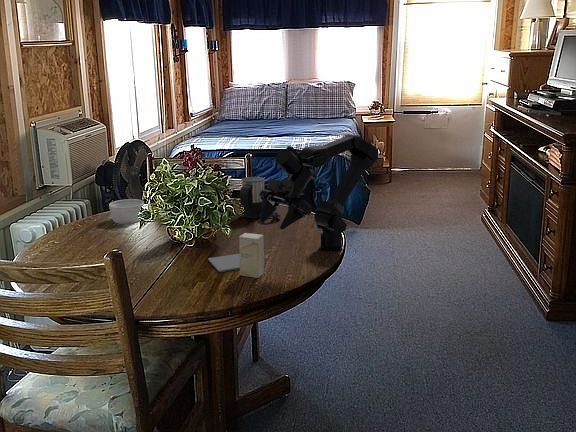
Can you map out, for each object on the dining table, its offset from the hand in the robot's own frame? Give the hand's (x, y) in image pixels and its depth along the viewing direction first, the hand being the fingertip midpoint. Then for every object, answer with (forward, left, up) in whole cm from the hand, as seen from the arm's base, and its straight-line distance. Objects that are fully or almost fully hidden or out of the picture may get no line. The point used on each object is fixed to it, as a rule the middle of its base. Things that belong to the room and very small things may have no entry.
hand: (270, 225), depth 187 cm
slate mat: (+11, -5, -13) cm, 18 cm away
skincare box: (+6, +6, -13) cm, 16 cm away
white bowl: (+55, -57, -14) cm, 81 cm away
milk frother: (+3, -55, -13) cm, 57 cm away
